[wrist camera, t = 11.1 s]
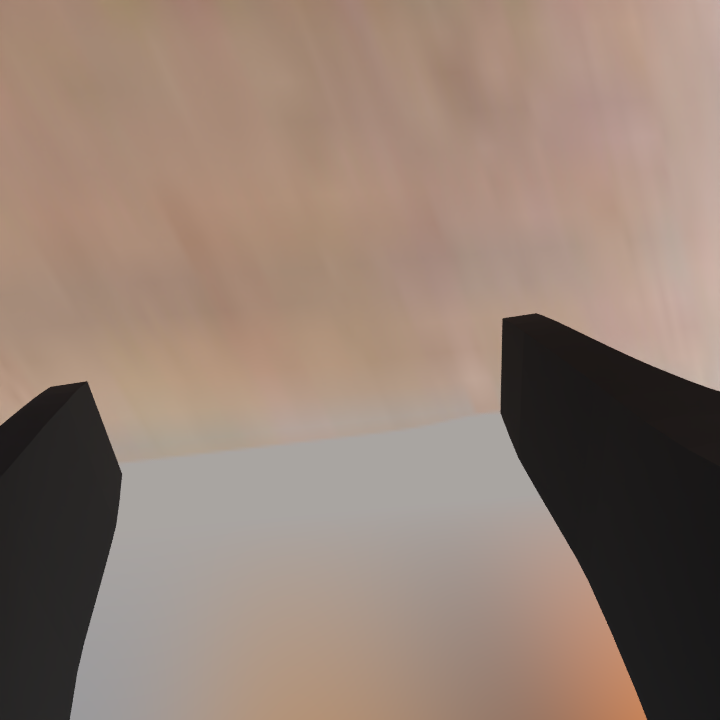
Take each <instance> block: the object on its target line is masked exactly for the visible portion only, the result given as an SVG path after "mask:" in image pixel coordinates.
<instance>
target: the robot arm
mask: <svg viewBox="0 0 720 720" xmlns="http://www.w3.org/2000/svg"><path fill="white" fill-rule="evenodd" d="M501 415H502V418H503V421H504V423H505V426H506V428H507V431H508V434H509V436H510V439H511V441H512V443H513V446H514V448H515V451H516V453H517V455H518V458H519V460H520V461H521V463H522V465H523V467H524V469H525V470H526V472H527V474H528V476H529V477H530V479H531V481H532V482H533V484H534V486H535V488H536V489H537V491H538V493H539V495H540V496H541V498H542V500H543V502H544V503H545V505H546V507H547V508H548V510H549V512H550V514H551V515H552V517H553V518H554V520H555V522H556V524H557V526H558V527H559V529H560V531H561V532H562V534H563V535H564V537H565V539H566V541H567V543H568V544H569V546H570V548H571V549H572V551H573V553H574V554H575V556H576V558H577V560H578V562H579V564H580V566H581V568H582V569H583V571H584V573H585V575H586V577H587V579H588V581H589V583H590V586H591V588H592V590H593V592H594V595H595V597H596V599H597V601H598V603H599V606H600V608H601V610H602V612H603V614H604V617H605V619H606V621H607V624H608V626H609V628H610V630H611V632H612V635H613V637H614V640H615V642H616V644H617V647H618V649H619V652H620V654H621V656H622V659H623V661H624V663H625V666H626V668H627V671H628V673H629V675H630V678H631V680H632V682H633V685H634V687H635V690H636V692H637V695H638V697H639V699H640V702H641V705H642V707H643V710H644V713H645V715H646V718H647V720H720V392H719V391H716V390H713V389H710V388H707V387H704V386H702V385H699V384H696V383H693V382H691V381H688V380H685V379H683V378H680V377H678V376H675V375H673V374H670V373H668V372H666V371H663V370H661V369H658V368H656V367H653V366H651V365H649V364H646V363H644V362H642V361H639V360H637V359H635V358H633V357H630V356H628V355H626V354H624V353H622V352H619V351H617V350H615V349H613V348H611V347H609V346H607V345H605V344H603V343H600V342H598V341H596V340H594V339H592V338H590V337H588V336H586V335H584V334H582V333H580V332H578V331H576V330H574V329H571V328H569V327H567V326H565V325H563V324H561V323H559V322H557V321H554V320H552V319H550V318H547V317H545V316H542V315H540V314H537V313H535V314H529V315H522V316H516V317H509V318H503V323H502V370H501ZM121 480H122V473H121V470H120V467H119V465H118V462H117V459H116V457H115V454H114V451H113V449H112V446H111V443H110V441H109V438H108V435H107V433H106V430H105V427H104V425H103V422H102V419H101V417H100V414H99V411H98V409H97V406H96V403H95V401H94V398H93V395H92V393H91V390H90V387H89V385H88V382H87V381H86V382H80V383H73V384H67V385H60V386H53V387H50V388H48V389H47V390H45V391H44V392H42V393H41V394H39V395H38V396H37V397H35V398H34V399H33V400H31V401H30V402H29V403H28V404H26V405H25V406H24V407H23V408H21V409H20V410H19V411H18V412H17V413H15V414H14V415H13V416H12V417H10V418H9V419H8V420H7V421H6V422H4V423H3V424H2V425H1V426H0V720H70V713H71V708H72V702H73V695H74V689H75V683H76V676H77V671H78V666H79V663H80V658H81V654H82V650H83V645H84V641H85V638H86V634H87V631H88V626H89V623H90V620H91V616H92V612H93V609H94V605H95V602H96V598H97V595H98V591H99V587H100V584H101V580H102V576H103V573H104V569H105V566H106V562H107V558H108V555H109V551H110V547H111V543H112V540H113V536H114V531H115V528H116V522H117V515H118V507H119V500H120V489H121Z"/></svg>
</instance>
